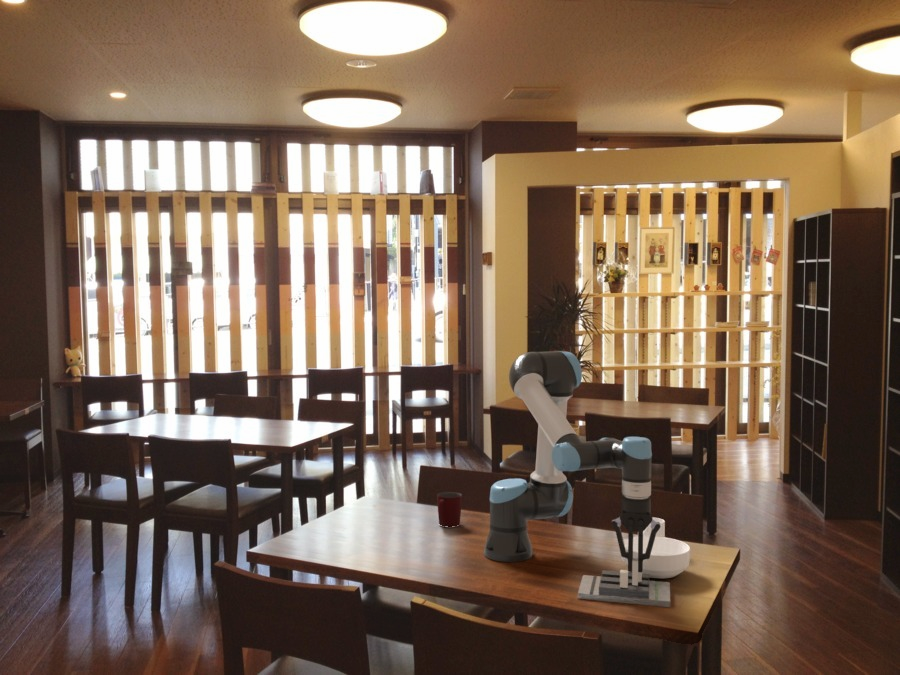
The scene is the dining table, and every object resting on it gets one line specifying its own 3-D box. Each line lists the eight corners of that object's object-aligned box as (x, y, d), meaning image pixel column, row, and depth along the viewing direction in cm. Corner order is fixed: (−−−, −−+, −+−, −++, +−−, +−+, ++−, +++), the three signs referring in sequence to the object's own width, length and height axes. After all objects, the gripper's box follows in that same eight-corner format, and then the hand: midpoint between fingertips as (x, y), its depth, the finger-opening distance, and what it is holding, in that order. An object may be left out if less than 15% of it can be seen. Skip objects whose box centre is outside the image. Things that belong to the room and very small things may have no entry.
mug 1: (451, 532, 279) (451, 500, 278) (428, 528, 283) (428, 497, 282) (465, 523, 290) (465, 493, 289) (443, 520, 293) (443, 490, 293)
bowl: (687, 565, 243) (688, 538, 243) (692, 587, 224) (692, 557, 224) (621, 560, 248) (621, 533, 248) (620, 582, 229) (620, 552, 228)
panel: (577, 598, 215) (577, 585, 215) (582, 580, 230) (583, 568, 230) (670, 607, 209) (670, 593, 209) (669, 587, 224) (669, 575, 224)
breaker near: (619, 587, 213) (620, 572, 213) (620, 584, 216) (620, 569, 216) (627, 587, 213) (627, 573, 213) (627, 584, 215) (628, 570, 215)
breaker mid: (633, 581, 218) (634, 567, 218) (634, 578, 220) (634, 564, 220) (641, 582, 217) (641, 567, 217) (641, 579, 220) (641, 564, 219)
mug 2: (654, 560, 248) (654, 527, 247) (629, 556, 252) (629, 523, 252) (668, 551, 257) (668, 519, 257) (643, 546, 262) (644, 515, 262)
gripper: (610, 497, 211) (609, 586, 212) (661, 500, 207) (660, 590, 208) (611, 491, 218) (610, 576, 219) (661, 494, 215) (660, 581, 216)
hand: (635, 583), depth 214 cm, fingers closed
